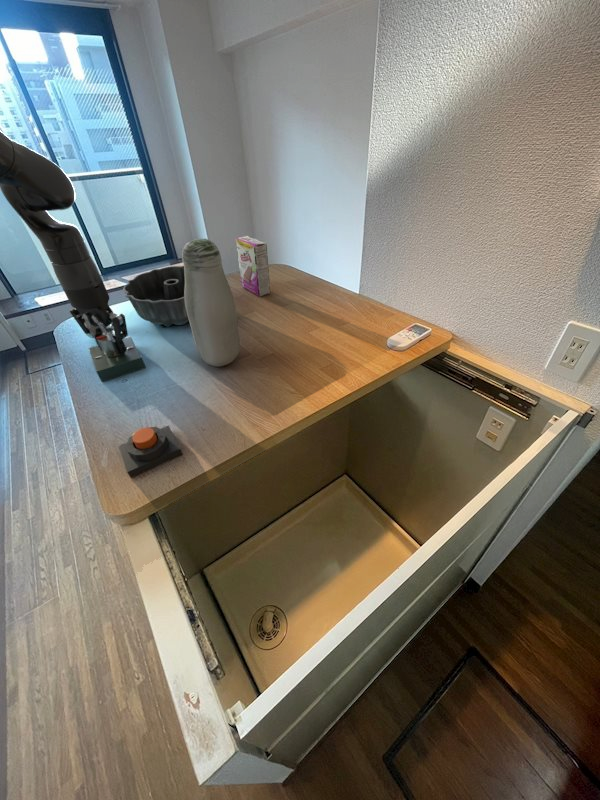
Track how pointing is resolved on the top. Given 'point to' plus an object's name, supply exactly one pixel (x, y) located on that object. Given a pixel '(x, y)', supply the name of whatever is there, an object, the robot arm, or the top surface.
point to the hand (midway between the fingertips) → (114, 350)
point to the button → (144, 438)
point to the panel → (117, 361)
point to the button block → (150, 452)
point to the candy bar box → (253, 265)
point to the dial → (107, 345)
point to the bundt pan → (159, 295)
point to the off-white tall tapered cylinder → (210, 303)
